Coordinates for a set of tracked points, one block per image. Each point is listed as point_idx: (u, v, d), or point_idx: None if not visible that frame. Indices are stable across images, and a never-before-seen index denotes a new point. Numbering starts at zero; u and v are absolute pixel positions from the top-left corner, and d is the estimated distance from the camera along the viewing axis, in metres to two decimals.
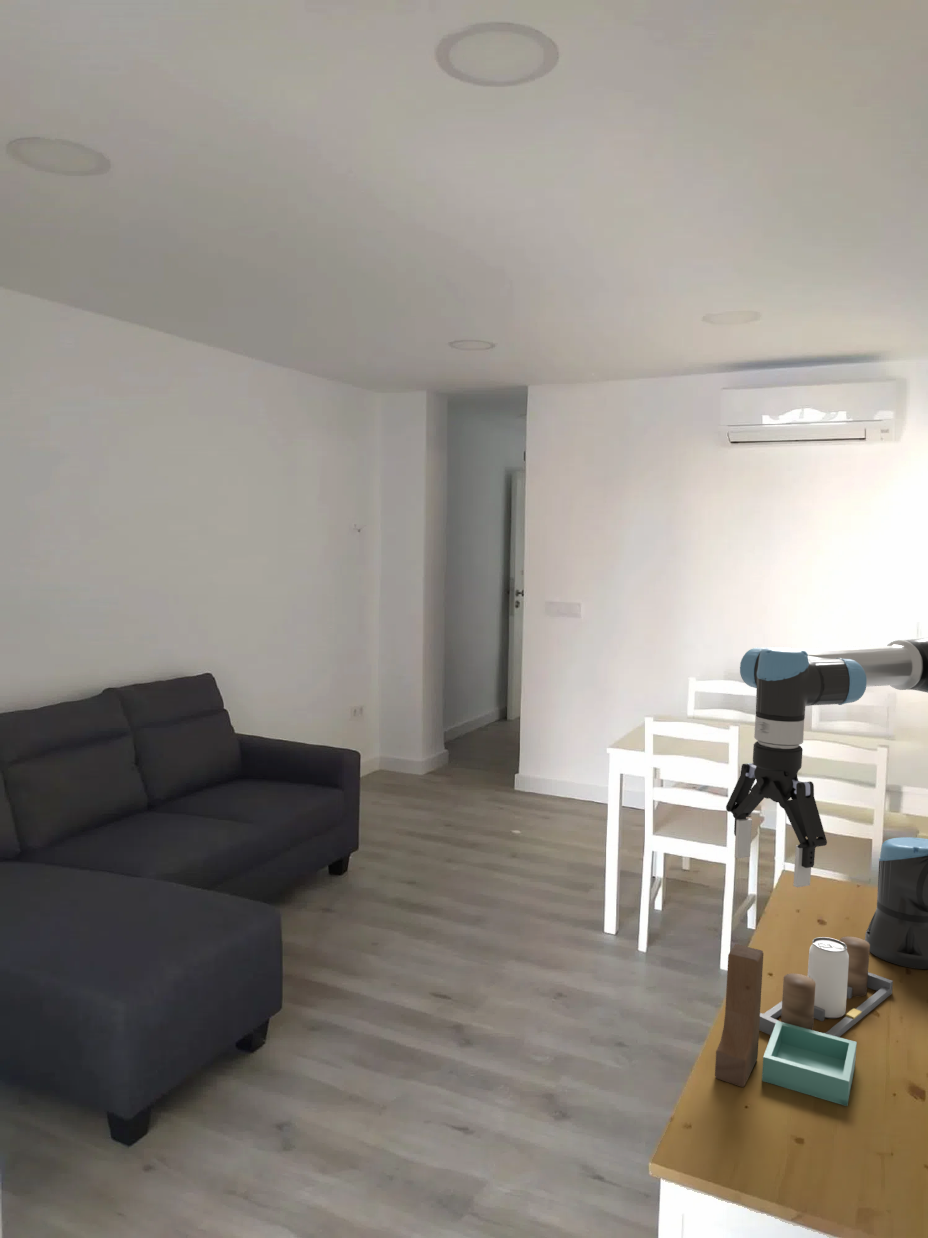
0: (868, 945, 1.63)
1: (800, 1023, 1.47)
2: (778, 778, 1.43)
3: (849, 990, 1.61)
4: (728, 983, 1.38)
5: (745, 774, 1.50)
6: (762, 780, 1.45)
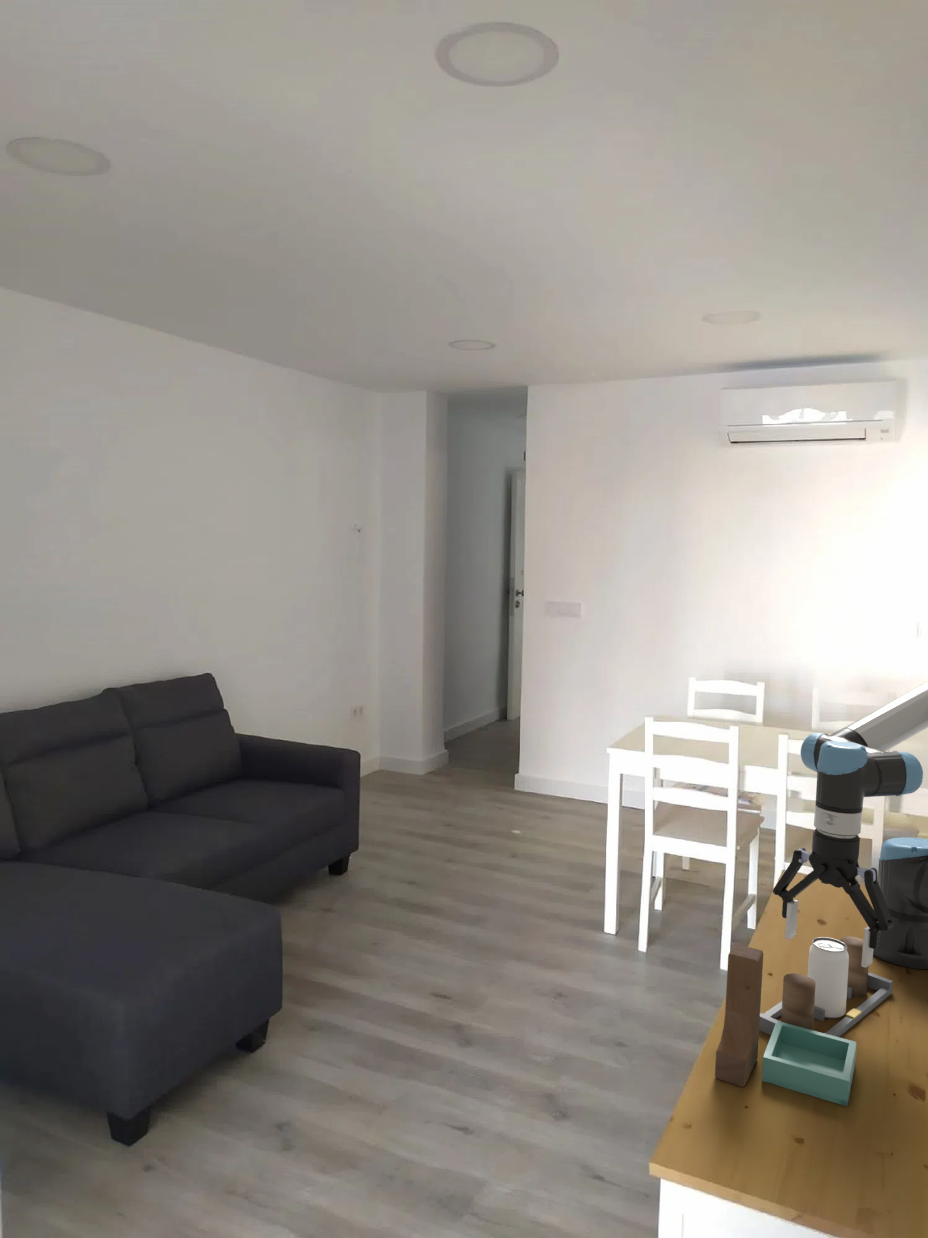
0: None
1: (800, 1023, 1.47)
2: (841, 865, 1.53)
3: (849, 990, 1.61)
4: (728, 983, 1.38)
5: (798, 860, 1.58)
6: (823, 867, 1.54)
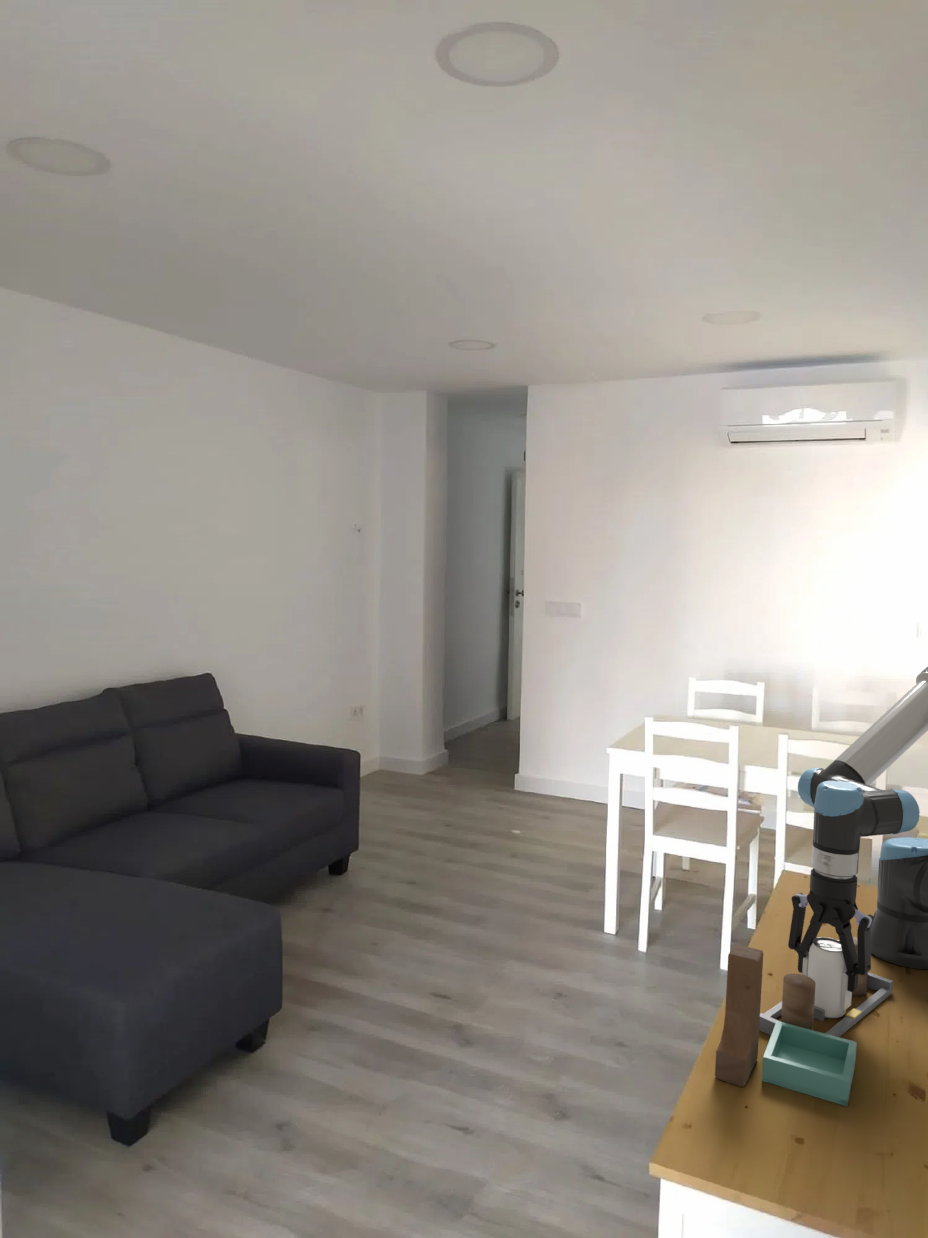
0: None
1: (800, 1023, 1.47)
2: (840, 903, 1.53)
3: None
4: (728, 983, 1.38)
5: (798, 905, 1.58)
6: (820, 906, 1.55)
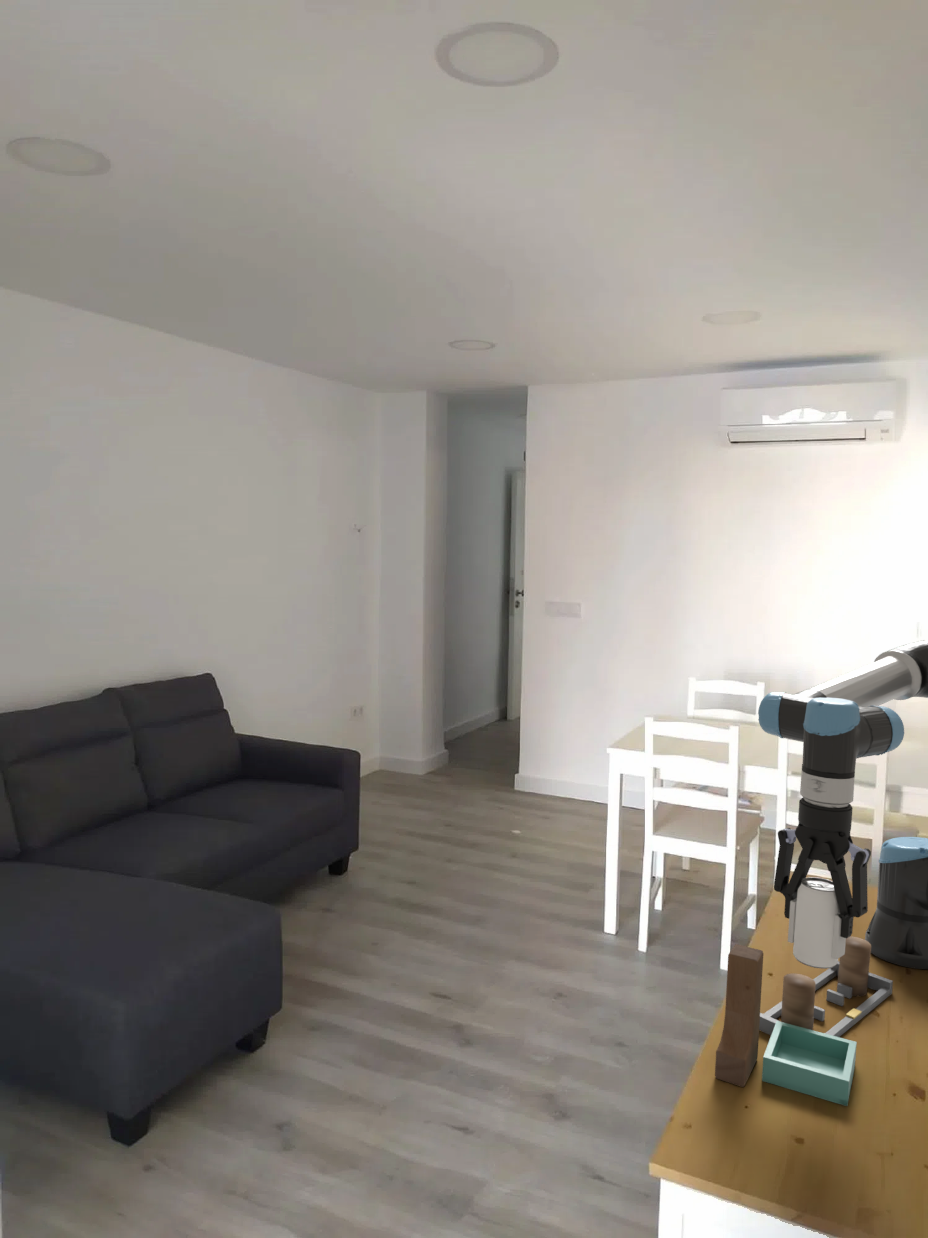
0: (869, 946, 1.62)
1: (800, 1023, 1.47)
2: (833, 836, 1.33)
3: (849, 990, 1.61)
4: (728, 983, 1.38)
5: (785, 841, 1.39)
6: (810, 840, 1.35)
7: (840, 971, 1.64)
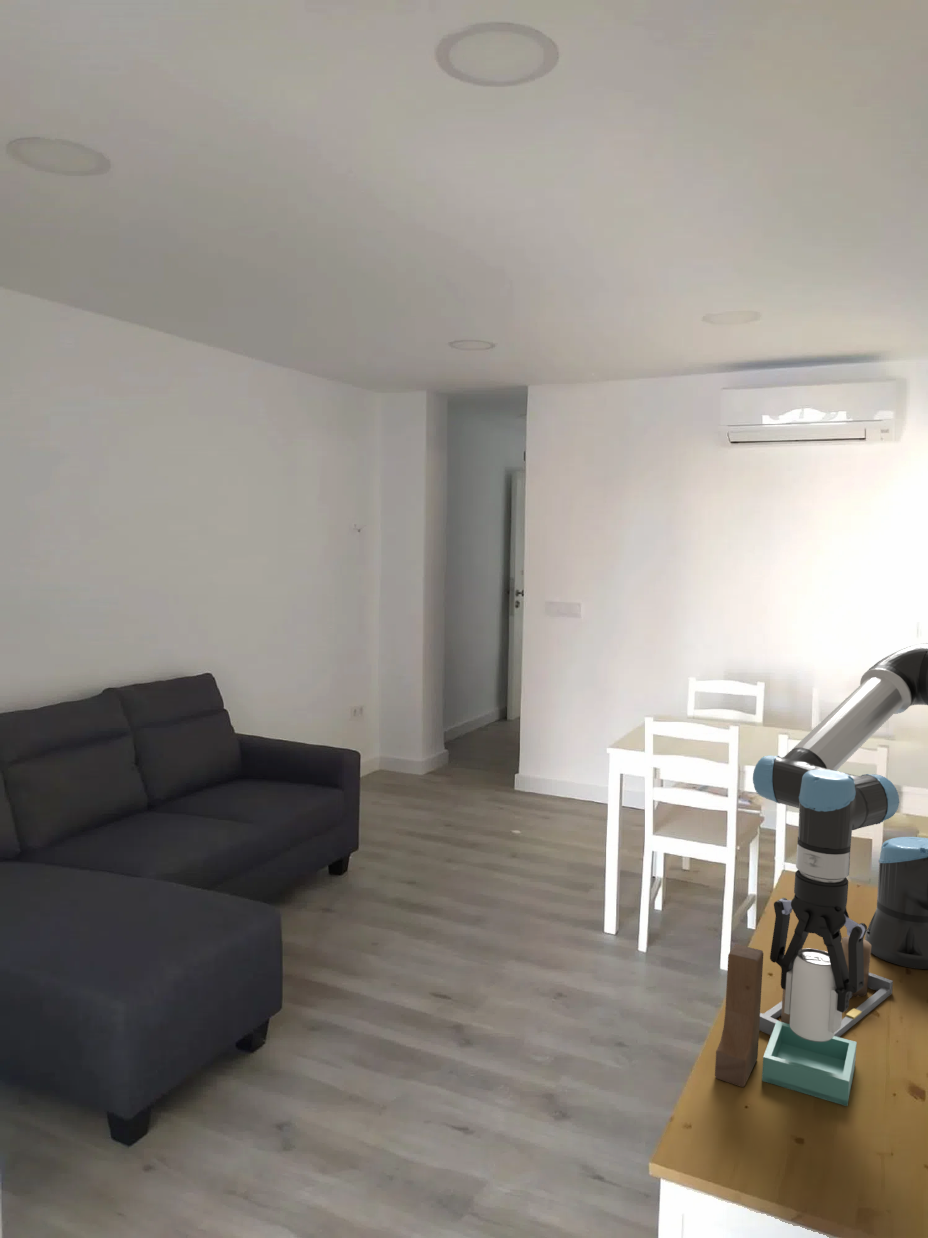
0: (869, 946, 1.62)
1: None
2: (829, 910, 1.33)
3: None
4: (728, 983, 1.38)
5: (781, 912, 1.39)
6: (806, 914, 1.35)
7: None
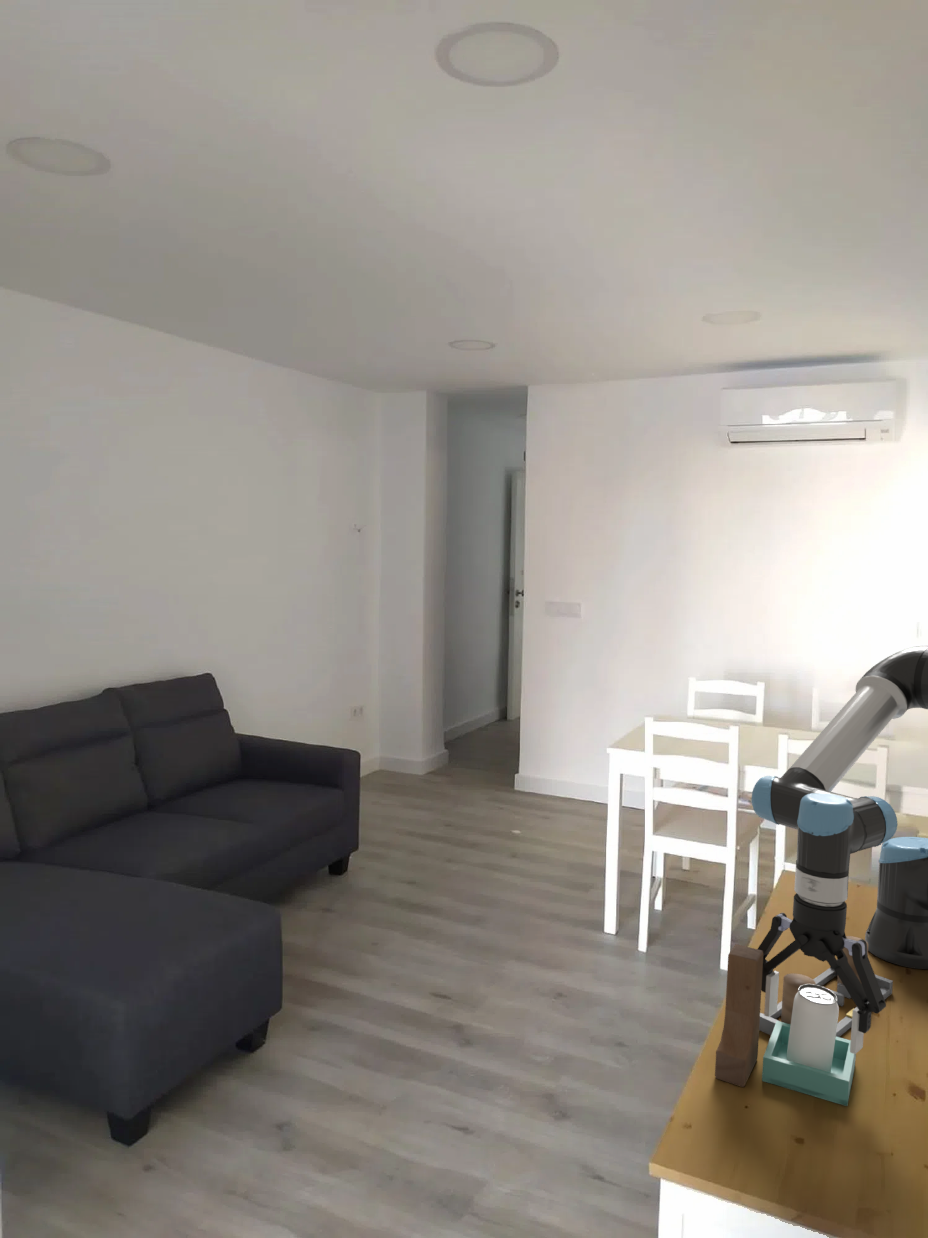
0: None
1: None
2: (825, 936, 1.34)
3: None
4: (728, 983, 1.38)
5: (778, 928, 1.39)
6: (806, 938, 1.35)
7: None
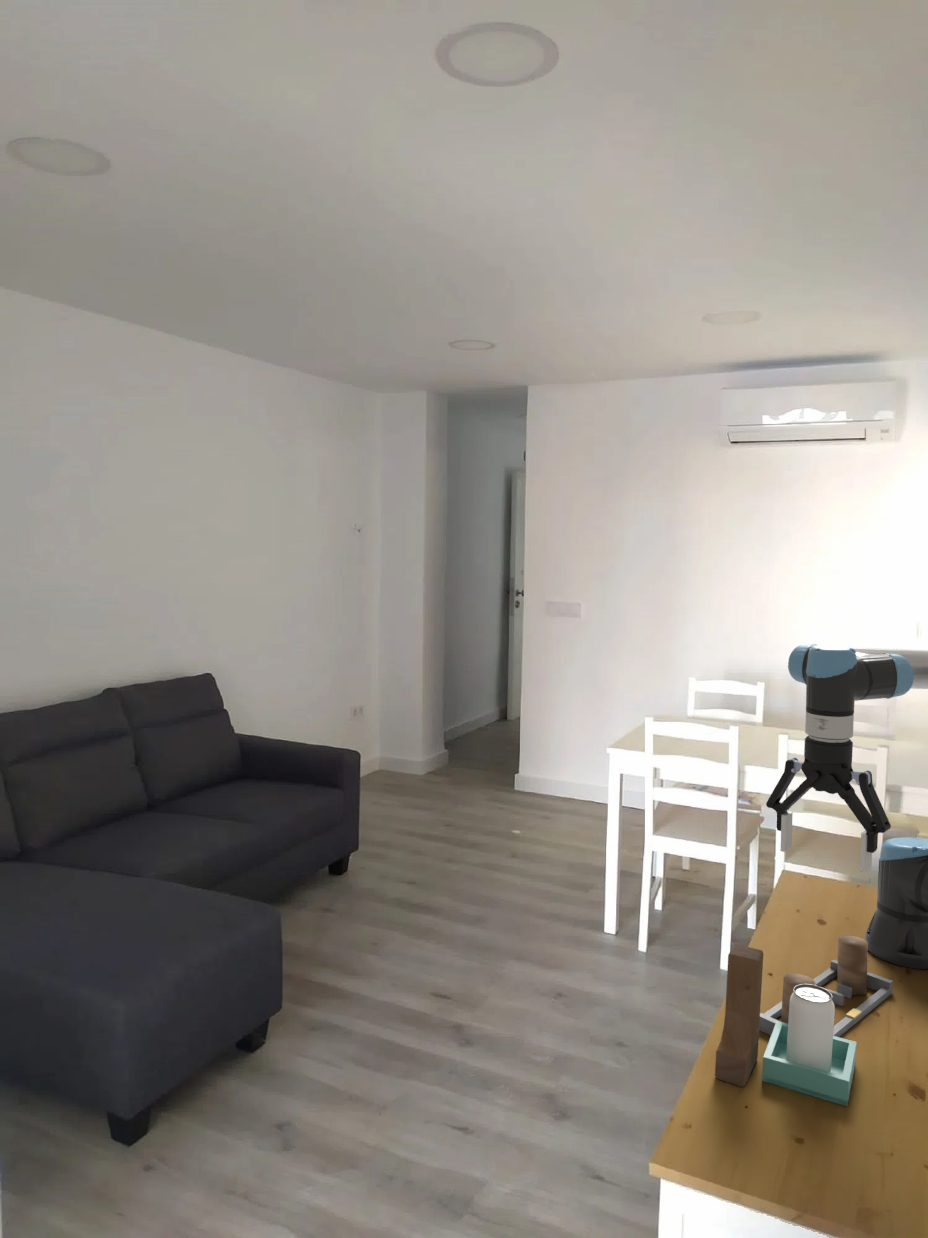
0: (865, 944, 1.62)
1: None
2: (834, 771, 1.49)
3: (849, 990, 1.61)
4: (728, 983, 1.38)
5: (791, 770, 1.54)
6: (817, 774, 1.50)
7: (838, 970, 1.65)
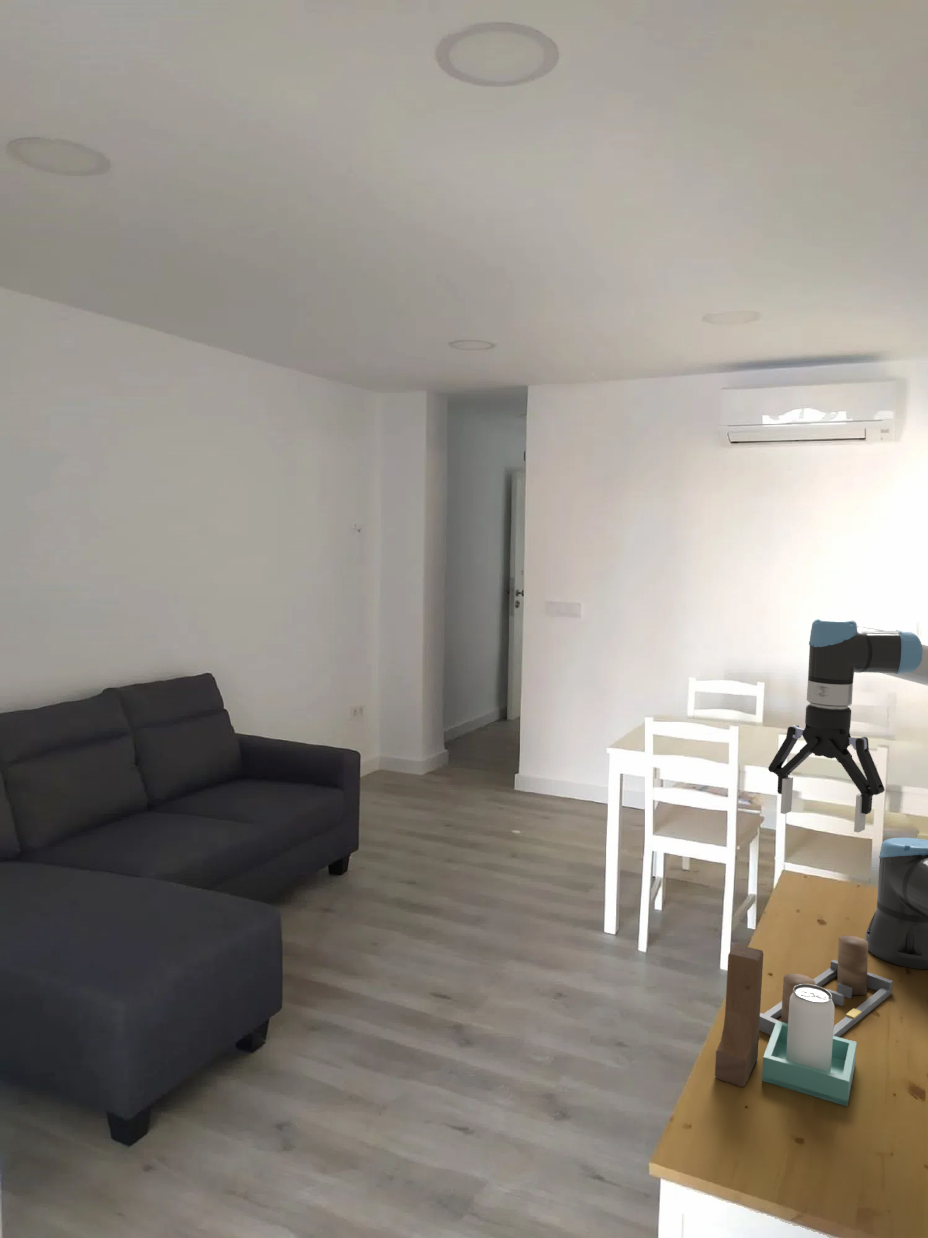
0: (865, 944, 1.62)
1: None
2: (833, 736, 1.58)
3: (849, 990, 1.61)
4: (728, 983, 1.38)
5: (792, 736, 1.63)
6: (816, 739, 1.59)
7: None
